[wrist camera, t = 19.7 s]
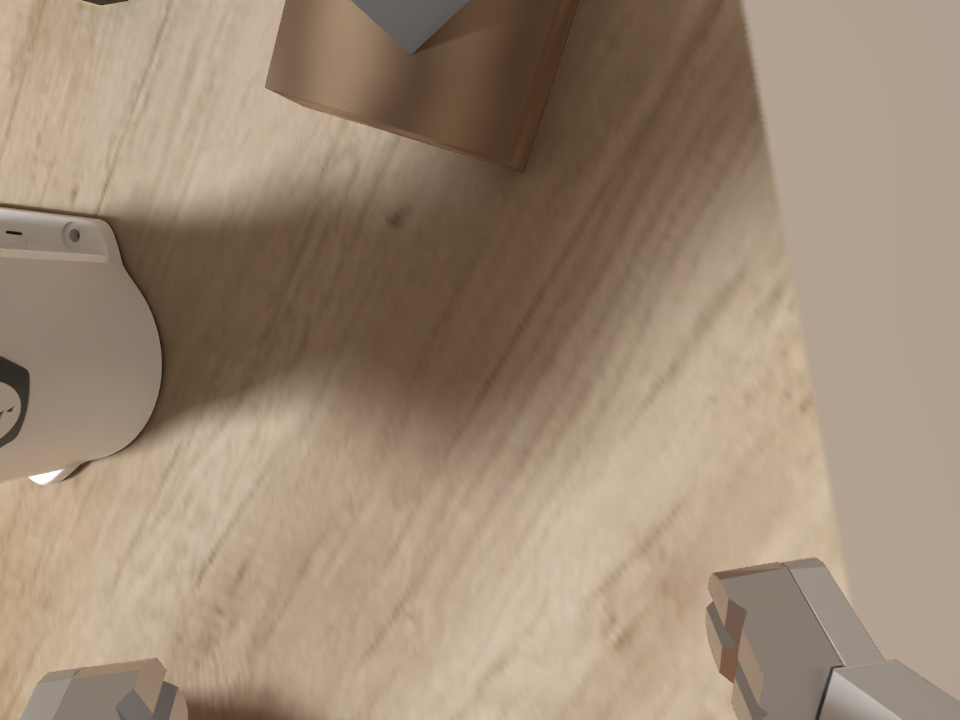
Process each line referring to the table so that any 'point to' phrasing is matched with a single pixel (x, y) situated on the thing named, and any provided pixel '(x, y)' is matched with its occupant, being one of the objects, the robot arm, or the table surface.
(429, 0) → the slate block
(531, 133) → the block
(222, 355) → the table surface
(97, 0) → the flashlight
